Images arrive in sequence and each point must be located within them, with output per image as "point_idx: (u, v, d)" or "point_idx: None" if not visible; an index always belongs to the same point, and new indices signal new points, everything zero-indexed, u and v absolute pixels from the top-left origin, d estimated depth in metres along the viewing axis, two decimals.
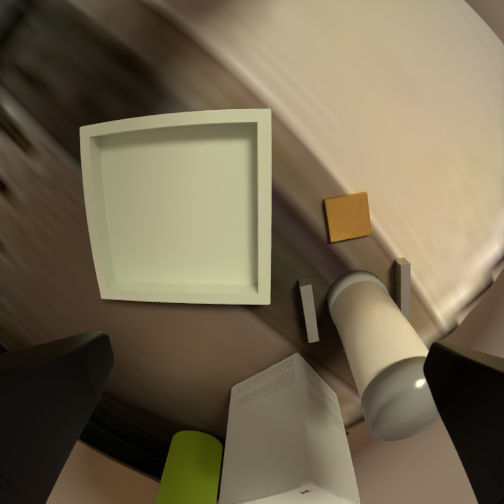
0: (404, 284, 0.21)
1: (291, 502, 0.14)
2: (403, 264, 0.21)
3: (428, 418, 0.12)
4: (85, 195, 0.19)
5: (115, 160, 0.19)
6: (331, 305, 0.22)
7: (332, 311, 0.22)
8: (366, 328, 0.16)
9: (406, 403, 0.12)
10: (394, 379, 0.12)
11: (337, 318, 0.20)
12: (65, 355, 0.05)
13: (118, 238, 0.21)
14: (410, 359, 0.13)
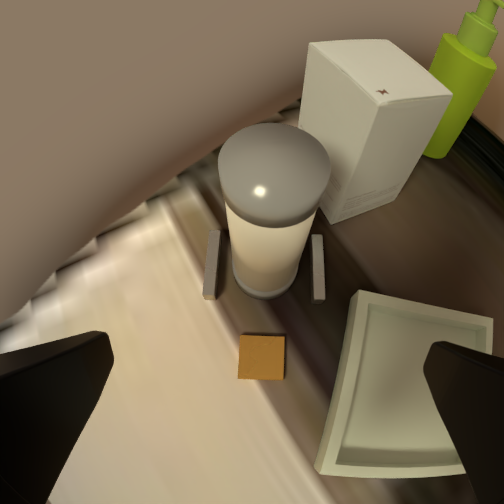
0: (211, 272, 0.22)
1: (392, 80, 0.14)
2: (210, 295, 0.21)
3: (251, 141, 0.13)
4: None
5: (451, 440, 0.16)
6: (296, 272, 0.21)
7: (297, 265, 0.21)
8: (288, 256, 0.16)
9: (286, 178, 0.12)
10: (298, 213, 0.12)
11: None
12: (65, 355, 0.05)
13: None
14: (267, 225, 0.13)
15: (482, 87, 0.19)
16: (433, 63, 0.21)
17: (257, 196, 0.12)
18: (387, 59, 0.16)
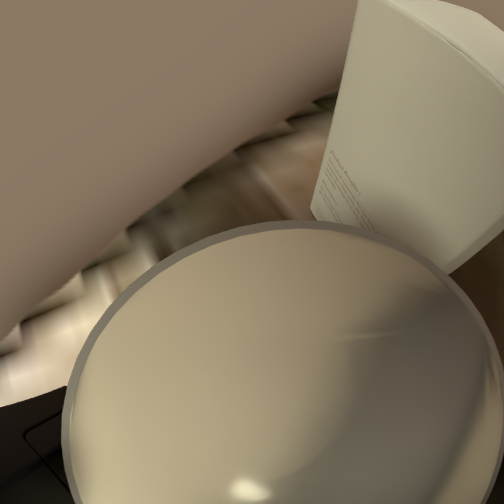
0: None
1: None
2: None
3: (196, 348, 0.03)
4: None
5: None
6: None
7: None
8: None
9: None
10: None
11: None
12: None
13: None
14: None
15: None
16: None
17: None
18: None
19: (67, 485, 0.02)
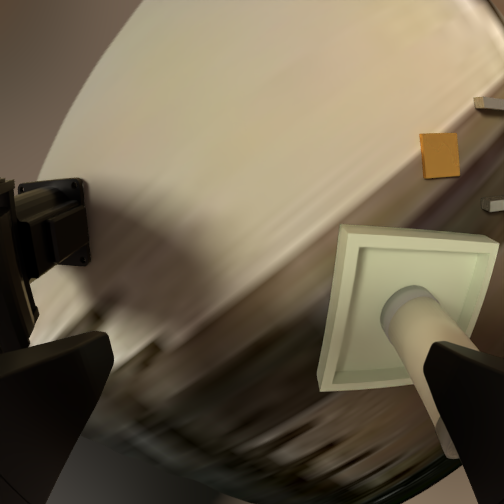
0: (498, 105, 0.15)
1: None
2: (483, 104, 0.15)
3: None
4: (376, 387, 0.22)
5: (353, 359, 0.23)
6: None
7: None
8: (415, 380, 0.15)
9: None
10: (442, 436, 0.11)
11: None
12: (65, 355, 0.05)
13: None
14: None
15: None
16: None
17: None
18: None
19: None
